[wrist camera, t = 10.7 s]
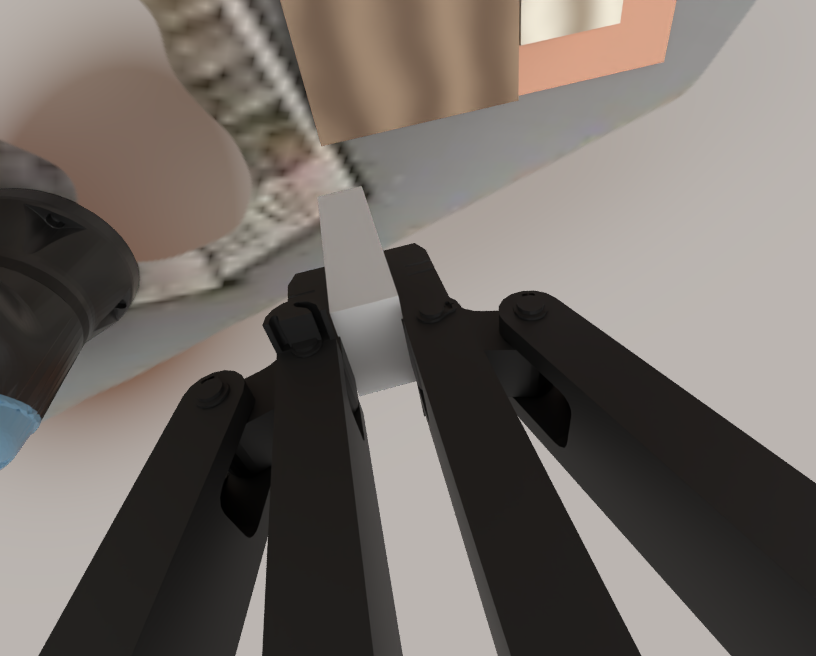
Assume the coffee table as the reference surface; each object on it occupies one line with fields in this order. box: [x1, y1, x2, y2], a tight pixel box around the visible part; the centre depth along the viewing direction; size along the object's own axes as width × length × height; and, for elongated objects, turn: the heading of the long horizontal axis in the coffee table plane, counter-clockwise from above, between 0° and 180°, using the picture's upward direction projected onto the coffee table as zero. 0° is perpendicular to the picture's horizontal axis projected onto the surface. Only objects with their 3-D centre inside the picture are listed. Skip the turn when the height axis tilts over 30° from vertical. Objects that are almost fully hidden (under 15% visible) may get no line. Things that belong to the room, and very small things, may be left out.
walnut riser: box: [280, 0, 519, 146], centre depth 34 cm, size 18×14×4 cm
